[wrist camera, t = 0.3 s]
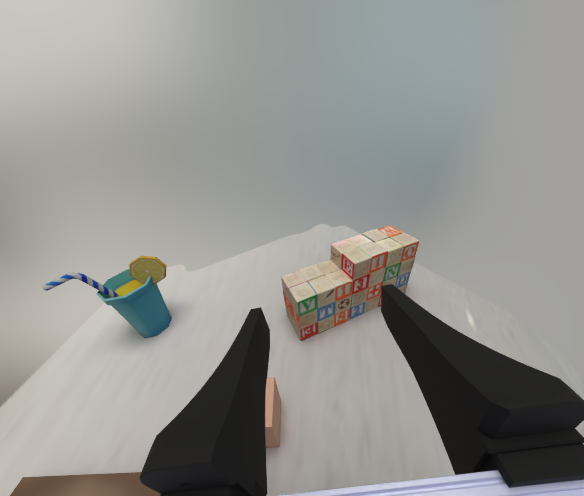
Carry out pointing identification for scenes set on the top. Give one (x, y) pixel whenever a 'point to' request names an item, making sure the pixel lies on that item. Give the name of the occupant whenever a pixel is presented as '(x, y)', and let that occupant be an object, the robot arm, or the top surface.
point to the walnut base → (84, 485)
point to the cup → (133, 294)
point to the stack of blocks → (348, 280)
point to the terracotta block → (272, 414)
